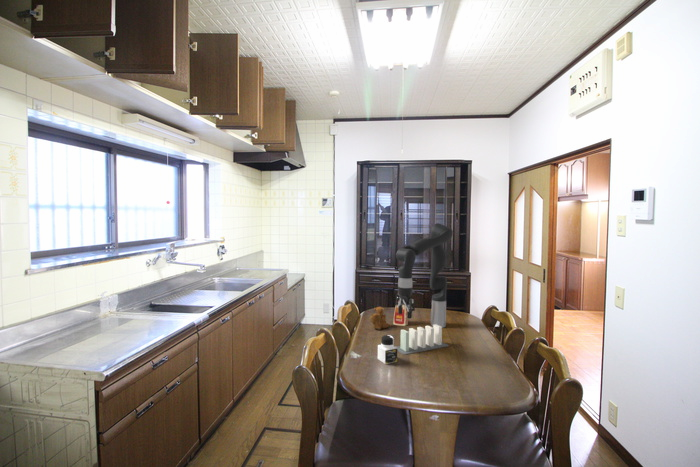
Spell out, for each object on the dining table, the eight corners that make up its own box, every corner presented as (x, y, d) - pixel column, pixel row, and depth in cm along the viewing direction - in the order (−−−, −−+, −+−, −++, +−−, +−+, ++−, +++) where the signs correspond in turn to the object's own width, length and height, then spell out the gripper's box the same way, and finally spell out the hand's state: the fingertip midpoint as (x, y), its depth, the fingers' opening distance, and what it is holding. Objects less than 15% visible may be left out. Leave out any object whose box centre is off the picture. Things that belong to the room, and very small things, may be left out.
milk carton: (393, 324, 210) (393, 294, 209) (396, 320, 218) (396, 292, 218) (406, 326, 206) (407, 296, 206) (409, 322, 215) (409, 293, 214)
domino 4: (430, 346, 171) (431, 328, 171) (425, 343, 176) (425, 325, 175) (433, 346, 172) (434, 328, 172) (427, 342, 176) (428, 325, 176)
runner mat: (393, 347, 170) (393, 347, 170) (436, 339, 182) (437, 339, 182) (403, 355, 161) (403, 354, 161) (448, 346, 173) (448, 345, 173)
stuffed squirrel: (390, 325, 207) (390, 306, 206) (381, 332, 195) (382, 311, 194) (376, 323, 212) (376, 304, 211) (367, 329, 199) (367, 309, 199)
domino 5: (438, 345, 173) (439, 327, 173) (432, 342, 178) (433, 324, 178) (441, 344, 174) (441, 326, 174) (435, 341, 179) (436, 324, 178)
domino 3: (422, 348, 169) (423, 330, 168) (417, 344, 173) (417, 327, 173) (425, 347, 170) (426, 329, 169) (420, 344, 174) (420, 326, 174)
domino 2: (414, 349, 166) (414, 331, 166) (408, 346, 171) (409, 328, 171) (417, 349, 167) (417, 330, 167) (411, 345, 172) (412, 328, 172)
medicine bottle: (385, 364, 150) (385, 340, 149) (377, 358, 156) (377, 335, 156) (397, 361, 153) (397, 337, 152) (389, 356, 159) (389, 333, 159)
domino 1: (403, 347, 170) (403, 329, 169) (408, 350, 165) (409, 332, 165) (400, 348, 169) (400, 329, 168) (405, 351, 164) (405, 332, 164)
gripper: (419, 288, 161) (418, 319, 161) (403, 283, 174) (403, 311, 174) (407, 289, 158) (406, 320, 158) (392, 284, 171) (391, 313, 171)
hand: (404, 316), depth 166 cm, fingers open, 8 cm apart
